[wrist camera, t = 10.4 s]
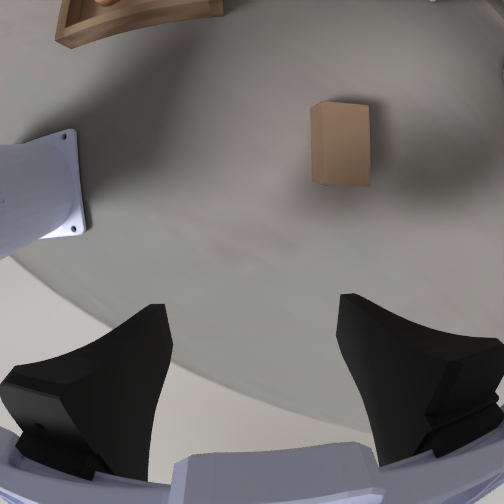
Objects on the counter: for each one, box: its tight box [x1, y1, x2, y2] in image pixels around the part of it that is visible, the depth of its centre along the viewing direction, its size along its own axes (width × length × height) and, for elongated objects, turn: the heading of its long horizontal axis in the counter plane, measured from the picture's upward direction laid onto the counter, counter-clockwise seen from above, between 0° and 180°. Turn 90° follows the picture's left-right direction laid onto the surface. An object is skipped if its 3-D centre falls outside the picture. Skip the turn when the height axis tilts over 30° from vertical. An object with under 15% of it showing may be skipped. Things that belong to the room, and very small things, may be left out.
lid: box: [310, 101, 370, 186], centre depth 17 cm, size 13×15×4 cm
